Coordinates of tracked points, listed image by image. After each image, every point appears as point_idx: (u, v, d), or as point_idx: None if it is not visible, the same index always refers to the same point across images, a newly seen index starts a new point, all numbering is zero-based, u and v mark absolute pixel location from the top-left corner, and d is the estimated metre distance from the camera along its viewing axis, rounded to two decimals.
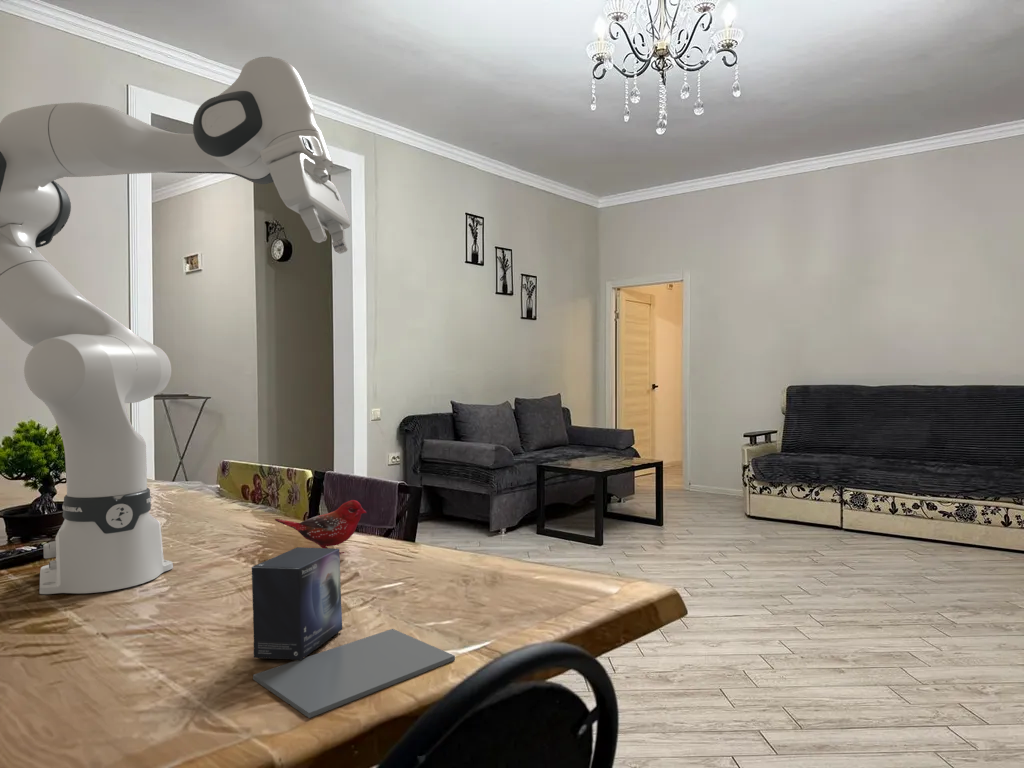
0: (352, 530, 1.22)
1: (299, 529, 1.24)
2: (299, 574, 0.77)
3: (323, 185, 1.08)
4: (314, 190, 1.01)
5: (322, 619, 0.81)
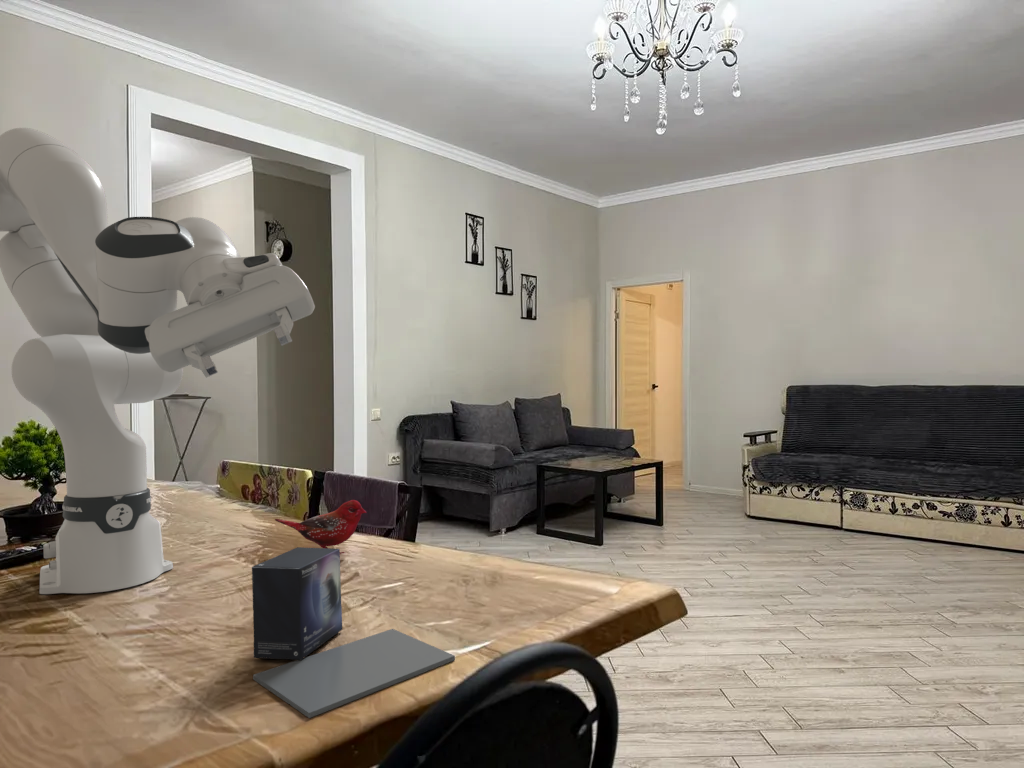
0: (352, 530, 1.22)
1: (299, 529, 1.24)
2: (299, 574, 0.77)
3: None
4: None
5: (322, 619, 0.81)
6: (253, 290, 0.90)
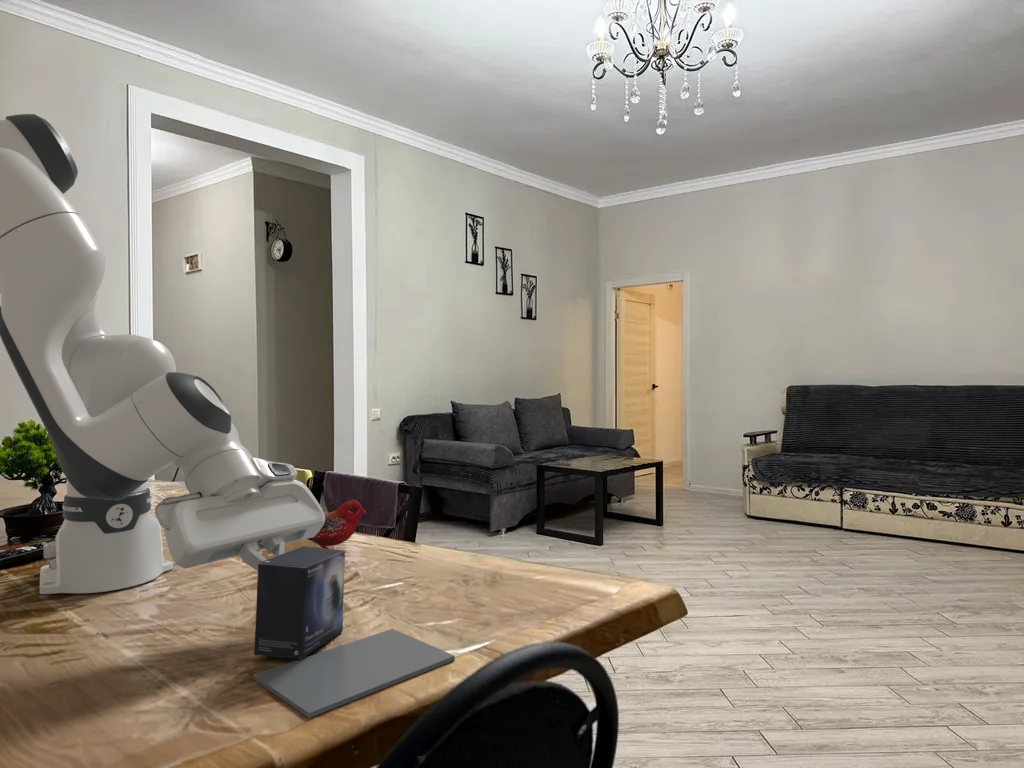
0: (352, 530, 1.22)
1: None
2: (305, 573, 0.78)
3: None
4: None
5: (324, 619, 0.82)
6: (273, 499, 0.92)
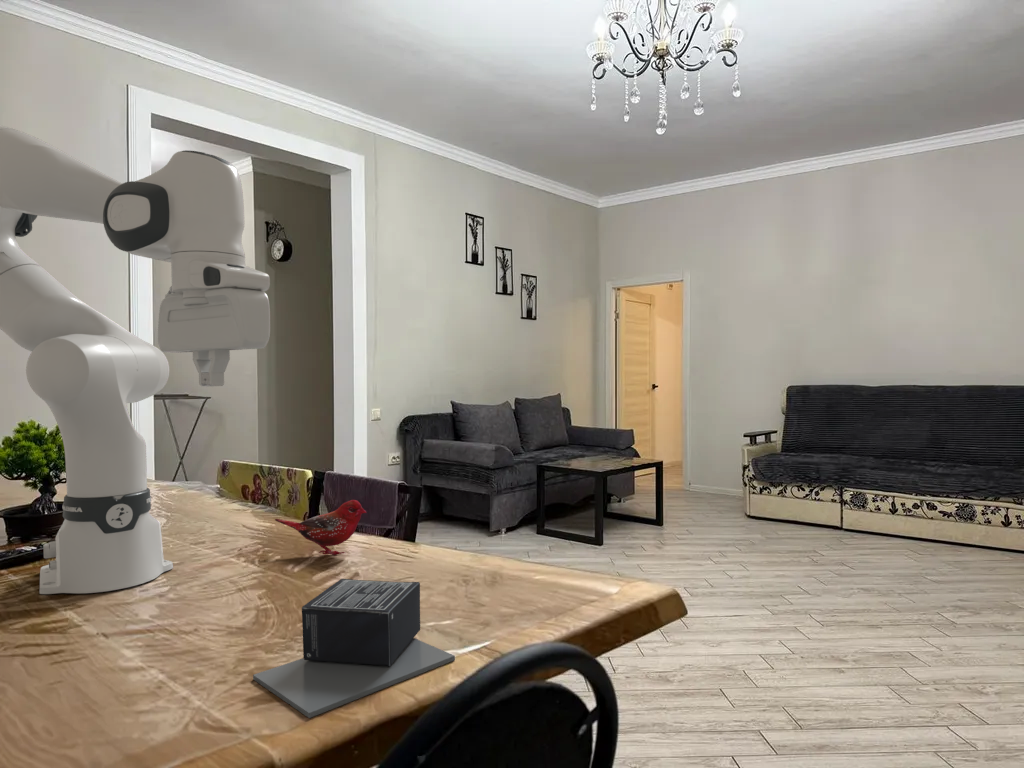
0: (352, 530, 1.23)
1: (299, 529, 1.24)
2: None
3: None
4: None
5: None
6: (216, 306, 0.86)
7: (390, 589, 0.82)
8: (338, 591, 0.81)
